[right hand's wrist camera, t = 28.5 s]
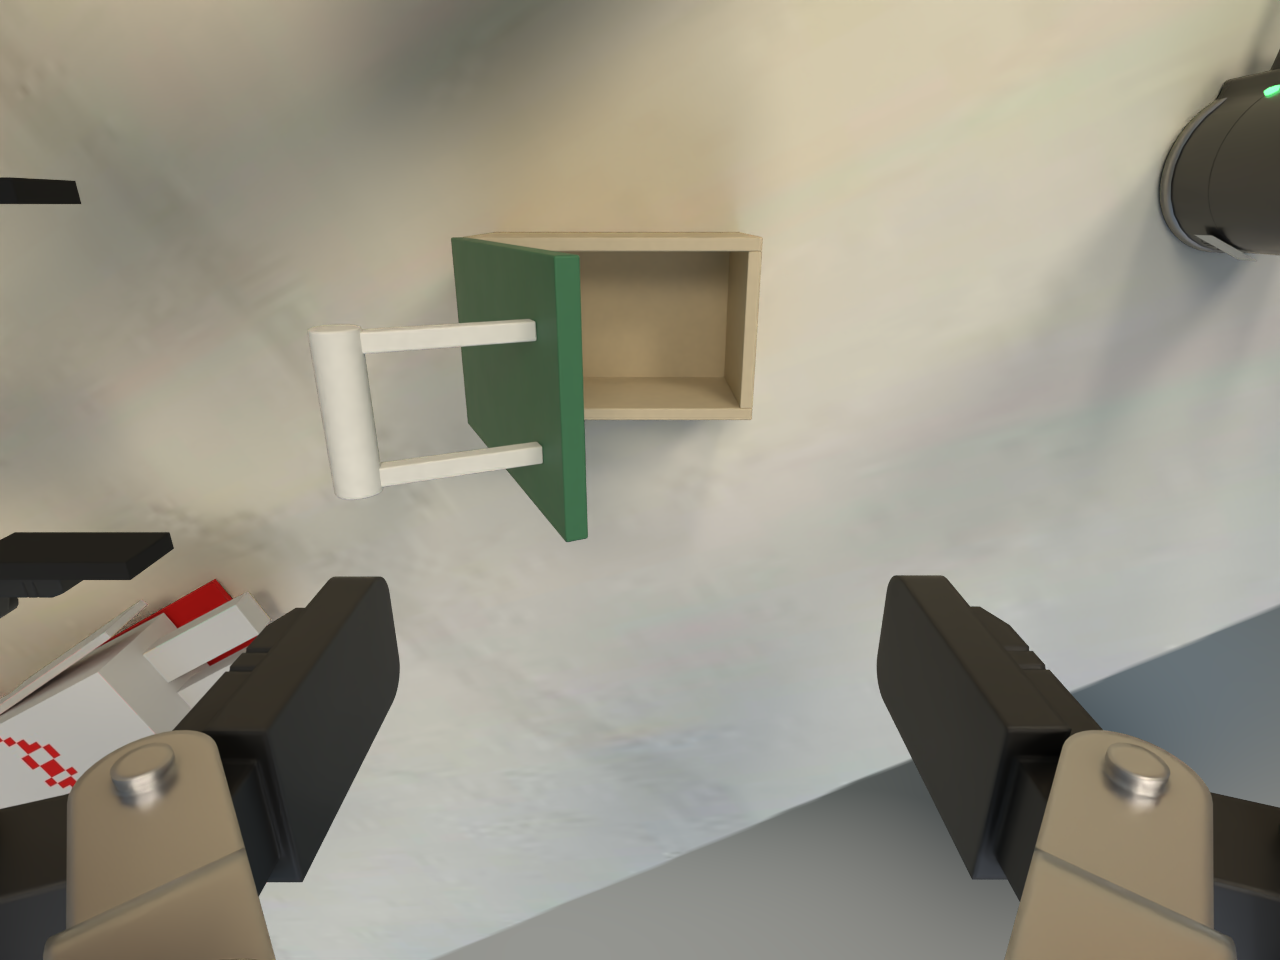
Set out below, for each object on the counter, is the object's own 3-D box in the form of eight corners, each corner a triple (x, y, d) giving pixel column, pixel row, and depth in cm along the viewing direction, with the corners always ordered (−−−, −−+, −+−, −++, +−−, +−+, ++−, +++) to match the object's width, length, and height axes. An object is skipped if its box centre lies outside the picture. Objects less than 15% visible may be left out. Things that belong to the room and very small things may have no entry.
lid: (580, 254, 22) (295, 262, 19) (588, 538, 26) (350, 586, 22) (467, 237, 36) (293, 239, 33) (483, 421, 40) (327, 440, 36)
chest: (740, 232, 45) (762, 237, 36) (732, 384, 48) (751, 420, 40) (493, 232, 45) (461, 236, 36) (504, 384, 48) (477, 420, 40)
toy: (291, 740, 47) (-88, 939, 48) (346, 639, 60) (45, 797, 61) (172, 600, 43) (-238, 819, 44) (258, 523, 56) (-62, 694, 57)
